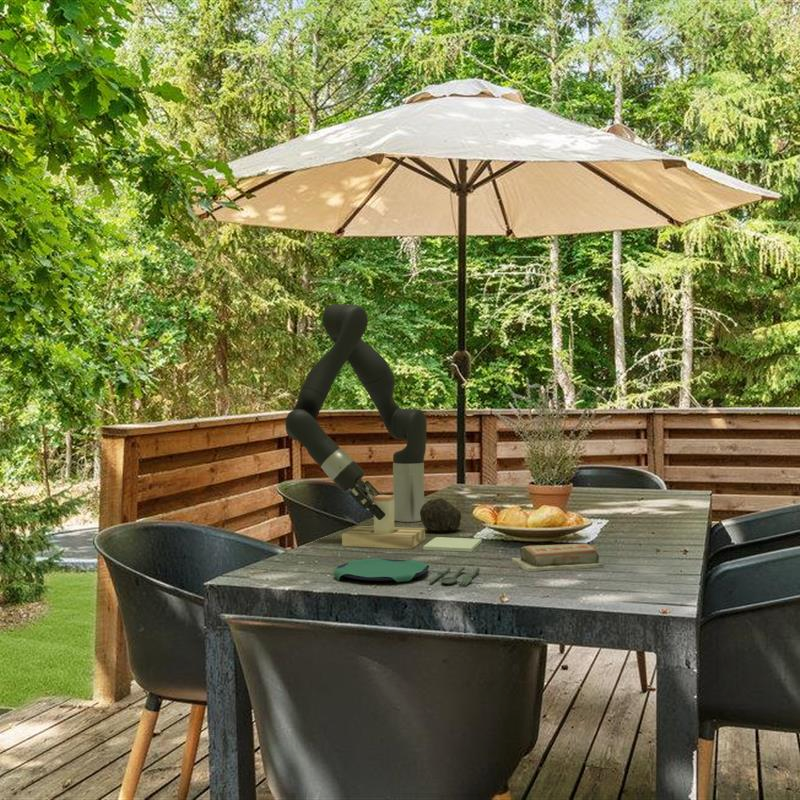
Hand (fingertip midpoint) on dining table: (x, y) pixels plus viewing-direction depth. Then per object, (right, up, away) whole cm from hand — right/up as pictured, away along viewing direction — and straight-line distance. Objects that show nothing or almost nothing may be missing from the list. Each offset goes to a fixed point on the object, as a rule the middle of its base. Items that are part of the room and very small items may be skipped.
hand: (386, 515), depth 236 cm
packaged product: (+39, -8, -30) cm, 49 cm away
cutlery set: (+4, -8, -41) cm, 42 cm away
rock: (+15, -7, +18) cm, 25 cm away
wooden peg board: (-1, -7, 0) cm, 7 cm away
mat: (+17, -7, -5) cm, 19 cm away
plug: (-1, -7, 0) cm, 7 cm away
